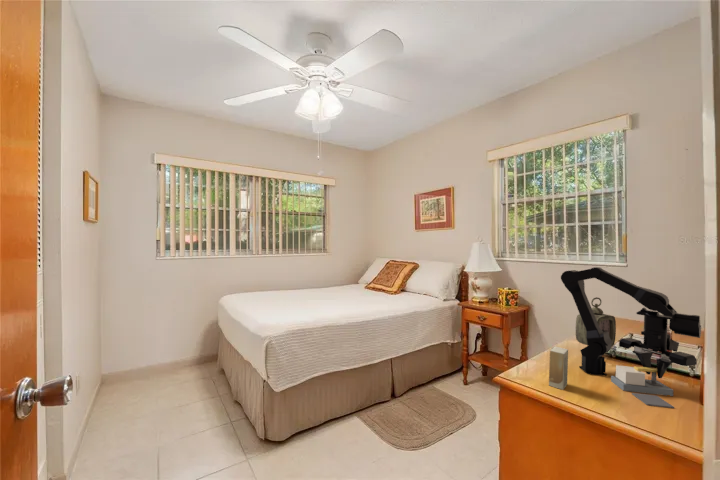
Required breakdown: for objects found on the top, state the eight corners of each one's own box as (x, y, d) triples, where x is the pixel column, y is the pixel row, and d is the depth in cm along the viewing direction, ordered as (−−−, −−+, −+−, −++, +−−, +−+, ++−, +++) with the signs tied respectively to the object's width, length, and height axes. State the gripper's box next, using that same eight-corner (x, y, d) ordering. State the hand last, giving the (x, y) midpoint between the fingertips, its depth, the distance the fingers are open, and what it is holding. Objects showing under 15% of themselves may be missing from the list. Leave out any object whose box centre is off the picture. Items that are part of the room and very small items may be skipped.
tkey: (637, 382, 104) (637, 368, 104) (633, 380, 106) (633, 366, 106) (666, 385, 102) (666, 370, 102) (661, 382, 104) (662, 368, 104)
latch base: (623, 390, 103) (623, 384, 103) (610, 381, 109) (611, 375, 109) (673, 396, 100) (673, 389, 100) (657, 386, 107) (657, 379, 107)
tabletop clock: (595, 358, 131) (597, 300, 131) (573, 351, 139) (574, 296, 140) (615, 354, 137) (616, 298, 137) (592, 347, 145) (594, 294, 145)
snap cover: (625, 383, 103) (626, 371, 103) (615, 376, 108) (615, 365, 108) (644, 385, 102) (645, 373, 102) (633, 378, 107) (634, 367, 107)
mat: (646, 405, 93) (647, 403, 93) (631, 394, 100) (631, 392, 100) (674, 408, 92) (674, 407, 92) (656, 396, 99) (657, 395, 99)
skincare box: (553, 380, 109) (554, 345, 109) (567, 384, 106) (568, 349, 106) (548, 385, 104) (549, 349, 105) (563, 390, 101) (564, 353, 101)
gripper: (708, 336, 97) (707, 386, 97) (639, 321, 115) (638, 363, 115) (685, 339, 94) (684, 390, 94) (618, 323, 112) (617, 366, 112)
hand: (654, 376), depth 104 cm, fingers closed on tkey, 3 cm apart
